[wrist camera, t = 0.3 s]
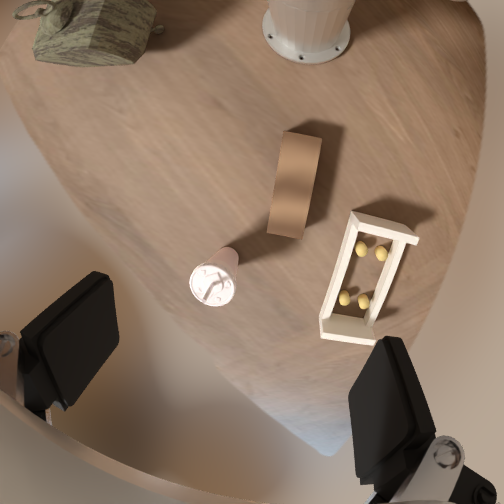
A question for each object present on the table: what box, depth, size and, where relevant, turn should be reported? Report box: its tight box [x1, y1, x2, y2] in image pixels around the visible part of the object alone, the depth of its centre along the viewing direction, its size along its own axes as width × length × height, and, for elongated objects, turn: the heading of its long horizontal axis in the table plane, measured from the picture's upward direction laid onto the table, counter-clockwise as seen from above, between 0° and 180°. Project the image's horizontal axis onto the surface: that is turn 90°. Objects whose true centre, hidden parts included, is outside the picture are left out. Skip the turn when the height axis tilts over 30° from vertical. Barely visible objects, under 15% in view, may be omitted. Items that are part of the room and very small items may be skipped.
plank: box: [266, 131, 322, 239], centre depth 38 cm, size 14×5×4 cm, turn 172°
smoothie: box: [190, 247, 239, 306], centre depth 40 cm, size 6×6×14 cm
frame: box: [319, 211, 419, 346], centre depth 41 cm, size 19×9×6 cm, turn 171°
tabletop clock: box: [12, 0, 164, 67], centre depth 22 cm, size 14×9×25 cm, turn 78°
